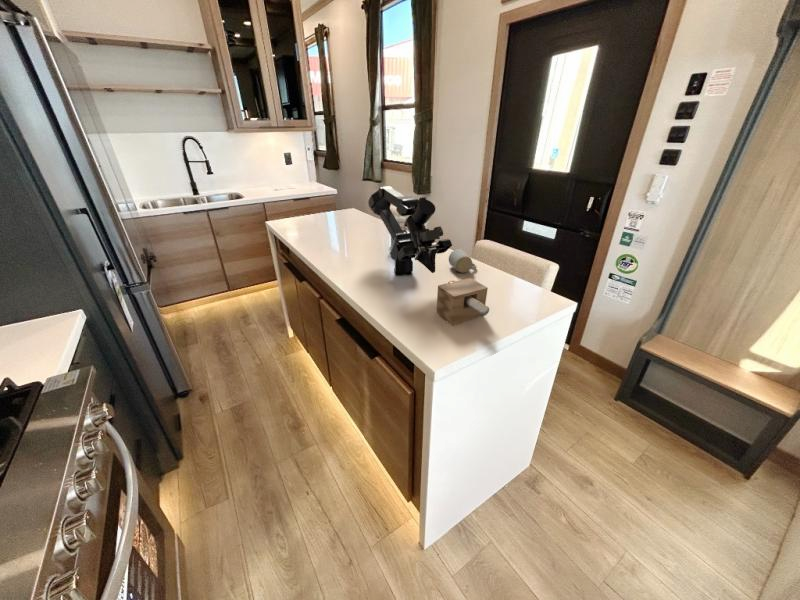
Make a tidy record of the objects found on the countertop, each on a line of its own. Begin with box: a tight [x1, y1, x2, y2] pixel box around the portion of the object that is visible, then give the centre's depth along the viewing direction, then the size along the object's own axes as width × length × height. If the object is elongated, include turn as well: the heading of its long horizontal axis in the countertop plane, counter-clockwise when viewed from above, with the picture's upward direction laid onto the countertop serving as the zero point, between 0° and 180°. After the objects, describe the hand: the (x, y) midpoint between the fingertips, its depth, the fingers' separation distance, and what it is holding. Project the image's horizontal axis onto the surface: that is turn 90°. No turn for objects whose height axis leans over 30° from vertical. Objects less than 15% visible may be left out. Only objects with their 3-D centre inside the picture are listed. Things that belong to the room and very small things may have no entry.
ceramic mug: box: [448, 248, 477, 274], centre depth 128 cm, size 11×8×8 cm
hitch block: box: [435, 277, 489, 326], centre depth 96 cm, size 8×12×10 cm, turn 118°
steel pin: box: [447, 280, 490, 317], centre depth 93 cm, size 16×5×5 cm, turn 28°
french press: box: [388, 215, 408, 251], centre depth 148 cm, size 10×12×25 cm
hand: (433, 272), depth 106 cm, fingers closed
